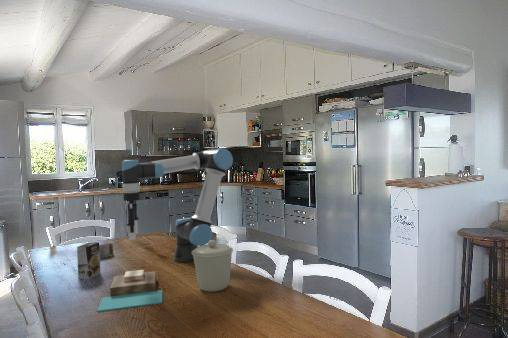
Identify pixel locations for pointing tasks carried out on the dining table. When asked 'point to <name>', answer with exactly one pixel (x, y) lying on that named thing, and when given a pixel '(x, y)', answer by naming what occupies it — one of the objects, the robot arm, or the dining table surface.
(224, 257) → the canister
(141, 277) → the birch tile
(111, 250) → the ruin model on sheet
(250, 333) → the dining table surface
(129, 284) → the walnut board
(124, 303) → the teal mat
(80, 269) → the coffee box
